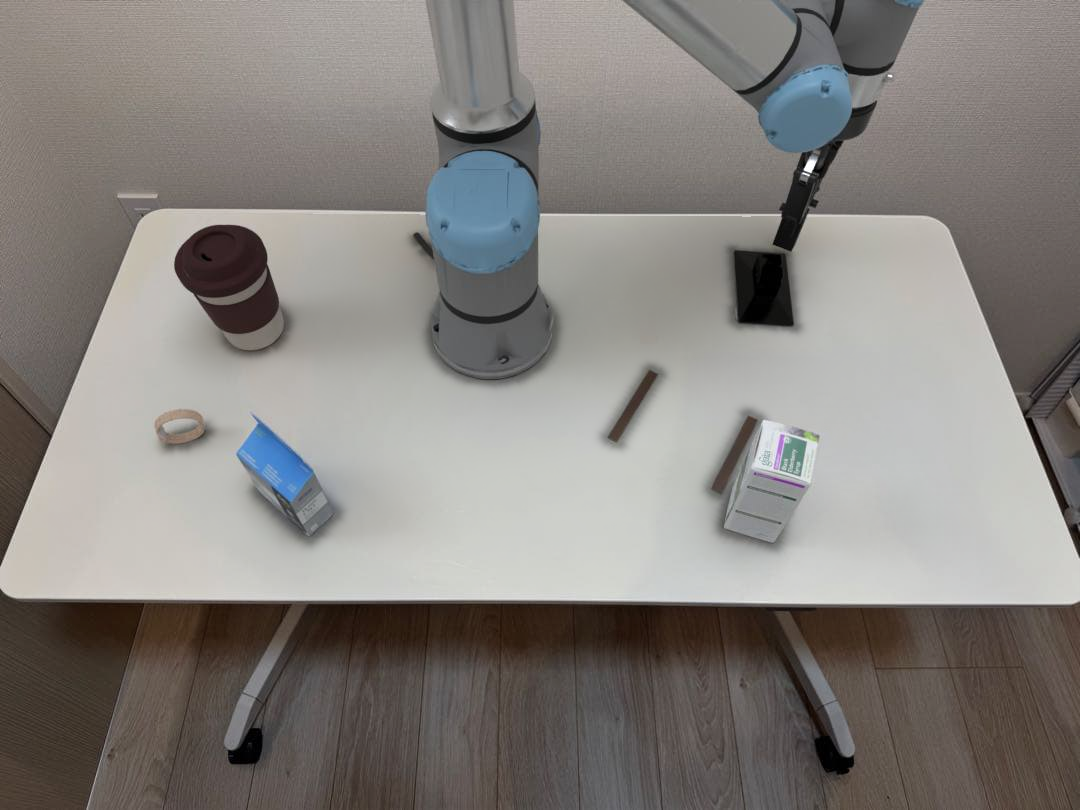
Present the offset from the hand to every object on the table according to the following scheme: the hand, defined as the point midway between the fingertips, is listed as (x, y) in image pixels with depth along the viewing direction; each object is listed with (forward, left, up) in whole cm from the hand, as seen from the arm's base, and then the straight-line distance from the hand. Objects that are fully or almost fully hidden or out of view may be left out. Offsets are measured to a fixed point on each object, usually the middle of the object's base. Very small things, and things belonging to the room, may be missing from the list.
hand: (783, 244), depth 103 cm
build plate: (0, -7, -2) cm, 7 cm away
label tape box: (-33, -62, -2) cm, 70 cm away
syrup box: (+11, -38, -2) cm, 40 cm away
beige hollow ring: (-49, -62, -2) cm, 79 cm away
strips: (0, -32, -2) cm, 32 cm away
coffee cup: (-53, -46, -2) cm, 70 cm away
